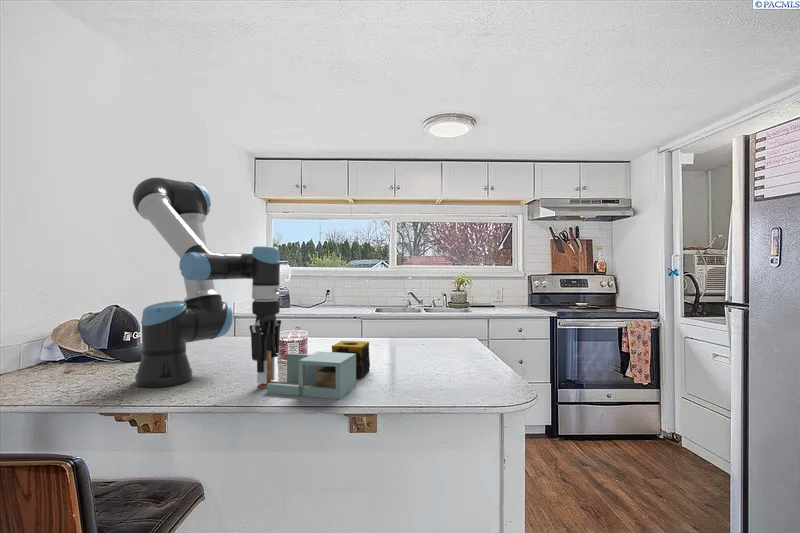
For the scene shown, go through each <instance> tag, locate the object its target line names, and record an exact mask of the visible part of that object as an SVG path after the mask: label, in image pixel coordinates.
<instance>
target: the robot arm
mask: <svg viewBox="0 0 800 533" xmlns="http://www.w3.org/2000/svg"><path fill="white" fill-rule="evenodd" d="M132 204H133V206H134V209H135V211H136V212H137V214H139V215H140V217H141V218H143V219H144V220H147V221H149V222H150V223H151V224H152V226H153V227H154V228H155V229H156V231H157V232H158V233H159V235H161V237H162V238H163V239H164V241H165V242H166V243H167V244H168V246H169V247H171V249H172V251H173V252H175V254H176V255H177V256H178V258H179V264H178V265H179V271H180V274H181V276H182V278H183V281H184V282H183V283H184V287H185V288H184V289H185V293H186V297H185V298H184V300H172V301H171V300H170V301H163V302H158V303H153V304H150V305H148V306H146V307H145V308H144V309H143V310H142V314H141V315H142V316H141V321H140V322H141V324H140V325H141V354H142V355H141V359H140V363H139V365H138V368H137V373H136V374H135V376H134V378H135V379H134V381H135V382H134V385H135V386H136V387H140V388H165V387H166V388H167V387H171V386H177V385H182V384H185V383H188V382H190V381H191V380H193V370H192V368H191V365H190V362H189V359H188V355H187V343H193V342H199V341H204V340H213V339H217V338H221V337H224V336H225V335H226V334H228V332H229V331H230V328H231V327H232V324H233V320H234V319H233V318H234V315H233V309H232V307H231V305H229V303H227V302H226V301H223V299H222V295H221V293H219V292H217V291H216V287H215V285H214V284H215V282H214V280H215V281H216V280H241V279H242V280H243V279H245V280H252V284H251V285H252V288H251V290H252V292H251V298H252V299H253V301H252V302H251V303H252V305H251V306H252V307H251V308H252V311H251V312H252V314H253V315H255V316H256V317H255V323H254V324H251V325H249V332H250V338H251V339H250V341H251V343H250V344H251V359H252V360H253V361H256V383H257V384H259V383H260V384H267V360H265V357H266V350H268V351H271V381H274V380H275V358H278V357H279V352H280V338H281V337H280V336H281V333H280V332H281V325H282V320H281V319H277V316H276V315H277V314H279V313H280V308H281V307H280V306H281V305H280V301H279V300H278V299H280V292H281V289H280V280H281V279H280V278H281V277H280V268H281V265H280V264H281V257H280V250H279V248H278V247H277V246H266V245H265V246H263V245H262V246H259V245H258V246H254V247H253V248H252V250H251V252H252V253H242V252H241V253H240V252H239V253H236V252H235V253H233V252H231V253H227V252H225V253H224V252H212V251H211V249H209V248H208V246H207V241H206V236H205V232H204V226H203V223H204V222H205V221H206V220H207V216H209V213H210V211H211V208H210V207H211V204H212V203H211V197H210V195H209V192H208V190H207V189H206V188H205V187H204V186H202V185H201V184H198V183H193V182H191V181H181V180H175V179H174V180H173V179H169V178H163V177H149V178H147V179H144V180H142V181H141V182H139V183H138V184H137V186H136V187H135V188H134V190H133V194H132Z"/></svg>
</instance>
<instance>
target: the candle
mask: <svg viewBox="0 0 800 533" xmlns="http://www.w3.org/2000/svg"><path fill="white" fill-rule="evenodd" d="M331 352H336V353H353V354H356V380H362V379H363V378H364V377H366V375H368V373H370V368H371V367H370V366H371V363H370V342H369V341H362V340H361V341H359V340H358V341H357V340H341V341H339V342H337V343H334V344H333V345H331Z"/></svg>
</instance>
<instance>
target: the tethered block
mask: <svg viewBox="0 0 800 533" xmlns="http://www.w3.org/2000/svg"><path fill="white" fill-rule="evenodd" d="M265 360H267V384H268V383H277V384H290V385H299V383H288V382H287V381H274V380H271V351H268V350H266V357H265ZM267 384H260V383H257V388H259V389H267ZM305 386H316V387H329V388H336V367H323V368H322V369H320V370H318V371H316V385H314V384H305Z"/></svg>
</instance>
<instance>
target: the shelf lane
mask: <svg viewBox="0 0 800 533" xmlns="http://www.w3.org/2000/svg"><path fill="white" fill-rule="evenodd" d="M323 367H336V388H329V387H316V386H305V384H314V385H316V371H318V370H320V369H322V368H323ZM286 382H288V383H299V385H290V384H277V383H268V384H267V388H266V393H267V394H273V395H275V394H276V395H285V396H295V397H296V396H297V397H309V398H320V399H321V398H322V399H332V400H341V399H342V398H343V397H345V396H346V395H347V394H349V392H351V391H352V390H354V389H355V388H356V386H357V379H356V354H353V353H336V352H332V351H317V352H314V353H312V354H310V353H309V354H308V353H295V352H294V353H293V352H292V353H291V352H288V353H287V354H286Z"/></svg>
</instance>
